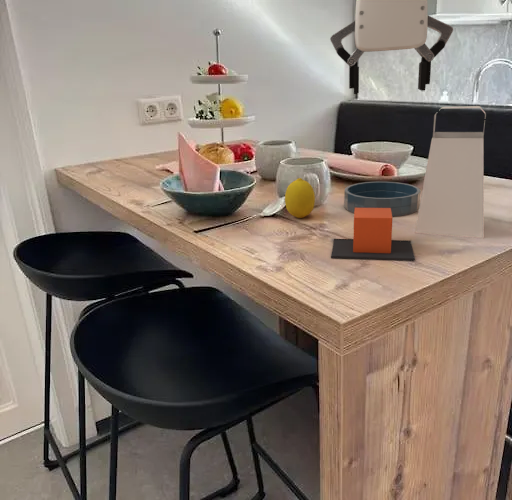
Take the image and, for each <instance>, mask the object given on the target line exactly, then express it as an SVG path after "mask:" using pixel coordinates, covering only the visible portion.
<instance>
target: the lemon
mask: <svg viewBox="0 0 512 500" xmlns="http://www.w3.org/2000/svg"><path fill="white" fill-rule="evenodd" d="M284 203H285V208H286V210H287V212H288V213H289V214H290V215H291V216H292V217H295V218H296V219H304V218H305V217H307V216H309V215H310V214H311V213H312V212H313V210H314V208H315V205H316V196H315V191H314V188H313V186H312V185H311V184H310V182H308V181H307V180H304V179H303V178H301V177H298V178H296V179H295V180H293V181H292V182H290V184H288V185H287V187H286V190H285V193H284Z"/></svg>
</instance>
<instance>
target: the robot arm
mask: <svg viewBox="0 0 512 500" xmlns="http://www.w3.org/2000/svg"><path fill="white" fill-rule="evenodd" d="M354 15H355V16H354V21H353V22H351V23H349V24H348V25H345V27H343V28H341V29H340V30H338V31H337V32H335V33H333V34H332V35H331V36H330V37H329V38H330V39H329V40H330V42H331V44H332V46H333V49H334V50H335V52H336V54H337V56H338V57H340V59H342V60H343V62H344V63H345V64H347V66H348V67H349V69H348V72H349V73H348V79H349V80H348V89H350V90H351V89H353V94H354V95H358V94H359V92H360V66H358V61H359V59H360V58H361V57H362V56H363V54H364V53H370V52H387V51H399V50H412V49H414V50H415V51H416V52H417V54H418V55H419V56H420V59H421V60H420V62H419V63H418V77H417V78H418V80H417V89H418V90H419V91H422V92H423V91H424V92H425V91H426V89H427V88H426V87H427V85H430V84H431V74H432V73H431V72H432V61H433V60H434V59H435V58H436V57H437V56H438V55H439V53H441V52H442V51H443V50H444V49H445V47H446V44H447V43H448V41H449V39H450V37H451V36H452V34H453V32H454V27H453V26H452V25H449V24H448V23H445V22H443V21H441V20H439V19H437V18H435V17H433V16H430V15H429V14H428V0H355V12H354ZM428 28H430V29H431V30H433V31H435V32H438V34H439V36H438V39H437V40H436V42H435V43H434V44H433V45H432V46H431V47H430V48H429V47H428V45H427V44H426V41H427V37H428ZM353 33H354V47H355V48H356V49H355V50H354V51H353V52H352V53H351V54H350V53H349V52H348V51H347V50H346V49H345V47H344V45H343V42H342V41H343V40H344V39H345V38H347V37H349V36H350V35H352V34H353Z"/></svg>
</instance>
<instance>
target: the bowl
mask: <svg viewBox="0 0 512 500" xmlns="http://www.w3.org/2000/svg"><path fill="white" fill-rule="evenodd" d="M421 195H422V190H421V189H420V187H418V186H416V185H413V184H409V183H404V182H396V181H365V182H358V183H354V184H350V185H348V186H346V187H345V188H344V196H343V201H344V203H343V207H344V209H345V210H346V211H348V212H350V213H352V214H354V211H355V208H391V212H392V217H401V216H406V215H407V216H408V215H412V214H414V213H416V212H419V206H420V201H421Z"/></svg>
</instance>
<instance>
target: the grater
mask: <svg viewBox="0 0 512 500" xmlns="http://www.w3.org/2000/svg"><path fill="white" fill-rule="evenodd" d="M441 109H445V110H446V109H451V110H452V109H480V110H481V111H482V112H483V113H484V118H486V117H487V113H486V112H485V110H484V109H483V108H482V106H481V105H465V106H464V105H463V106H461V105H460V106H459V105H456V106H452V105H451V106H441V107H440V110H441ZM436 121H437V113H435V114H434V116H433V130H432V131H433V132H432V138H431V141H430V147H429V151H428V152H429V153H428V157H427V163H426V170H425V174H424V180H423V184H422V190H421V194H420V206H419V209H418V211H417V218H416V223H415V229H414V234H424V235H436V236H447V237H449V236H450V237H461V238H462V237H463V238H473V239H474V238H477V239H484V237H485V236H484V235H485V232H484V231H485V229H484V228H485V227H484V224H485V223H484V220H485V219H484V215H485V214H484V212H485V211H484V208H485V206H484V204H485V203H484V202H485V201H484V198H485V197H484V196H485V195H484V192H485V189H484V185H485V184H484V181H485V180H484V179H485V178H484V169H485V166H484V162H485V161H484V157H485V156H484V153H485V151H484V140H485V139H484V135H485V130H483V131H436ZM483 122H484V123H483V128H485V125H486V121H483Z"/></svg>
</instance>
